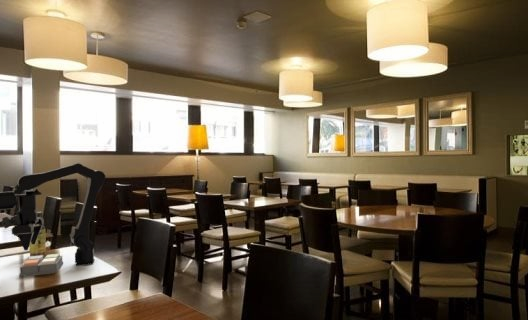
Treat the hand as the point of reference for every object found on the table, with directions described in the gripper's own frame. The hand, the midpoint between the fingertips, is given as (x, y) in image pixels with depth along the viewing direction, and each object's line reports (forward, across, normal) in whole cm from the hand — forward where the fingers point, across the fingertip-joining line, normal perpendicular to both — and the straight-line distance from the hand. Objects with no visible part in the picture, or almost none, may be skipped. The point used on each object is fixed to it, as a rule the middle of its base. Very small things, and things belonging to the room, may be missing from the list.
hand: (29, 247), depth 143 cm
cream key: (+7, +1, +7) cm, 10 cm away
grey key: (+7, -5, 0) cm, 9 cm away
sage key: (+7, -5, +6) cm, 11 cm away
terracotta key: (+7, +1, +1) cm, 7 cm away
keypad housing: (+10, -2, +3) cm, 11 cm away
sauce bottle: (+10, -26, -4) cm, 28 cm away
